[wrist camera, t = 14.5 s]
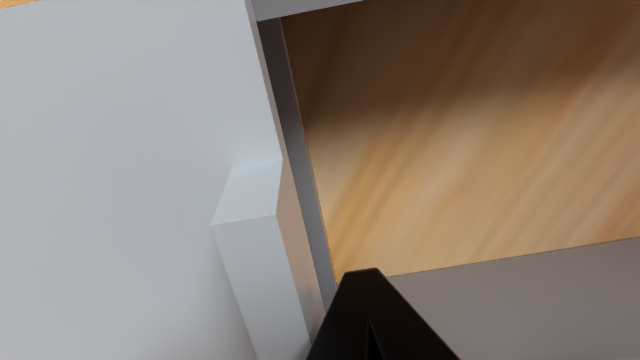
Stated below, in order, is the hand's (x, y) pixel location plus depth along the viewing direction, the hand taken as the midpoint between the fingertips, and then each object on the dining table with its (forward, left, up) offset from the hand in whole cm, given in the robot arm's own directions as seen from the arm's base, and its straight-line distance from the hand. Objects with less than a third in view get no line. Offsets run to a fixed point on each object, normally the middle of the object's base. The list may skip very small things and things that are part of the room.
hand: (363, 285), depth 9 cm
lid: (0, +7, -1) cm, 7 cm away
